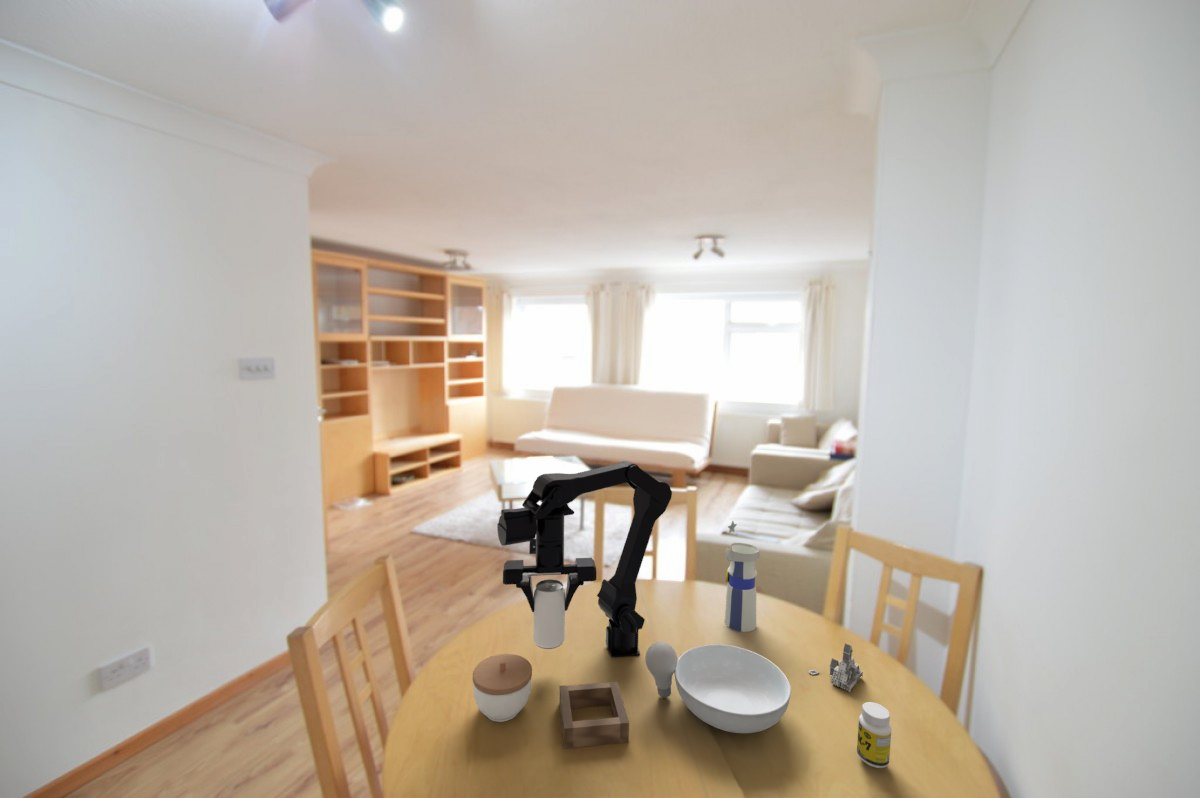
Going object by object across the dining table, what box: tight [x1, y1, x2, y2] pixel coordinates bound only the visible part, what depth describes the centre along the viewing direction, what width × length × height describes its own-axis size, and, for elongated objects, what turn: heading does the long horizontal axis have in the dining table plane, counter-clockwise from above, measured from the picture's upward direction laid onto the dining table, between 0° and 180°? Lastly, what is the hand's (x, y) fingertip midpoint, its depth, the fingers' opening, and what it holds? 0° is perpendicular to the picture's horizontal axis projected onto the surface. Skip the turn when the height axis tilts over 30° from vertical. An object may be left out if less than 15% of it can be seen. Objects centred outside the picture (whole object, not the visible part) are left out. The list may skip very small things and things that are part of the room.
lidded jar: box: [472, 653, 533, 723], centre depth 93 cm, size 11×11×9 cm
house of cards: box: [807, 643, 864, 693], centre depth 106 cm, size 9×9×8 cm
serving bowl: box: [673, 643, 792, 734], centre depth 94 cm, size 21×21×7 cm
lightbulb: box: [644, 641, 678, 699], centre depth 97 cm, size 6×6×11 cm
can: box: [533, 579, 566, 650], centre depth 104 cm, size 6×6×12 cm
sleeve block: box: [558, 681, 630, 749], centre depth 91 cm, size 11×11×4 cm
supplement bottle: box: [856, 701, 892, 769], centre depth 83 cm, size 5×5×8 cm
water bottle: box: [723, 520, 761, 633], centre depth 124 cm, size 8×9×25 cm
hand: (549, 610), depth 104 cm, fingers closed on can, 6 cm apart
